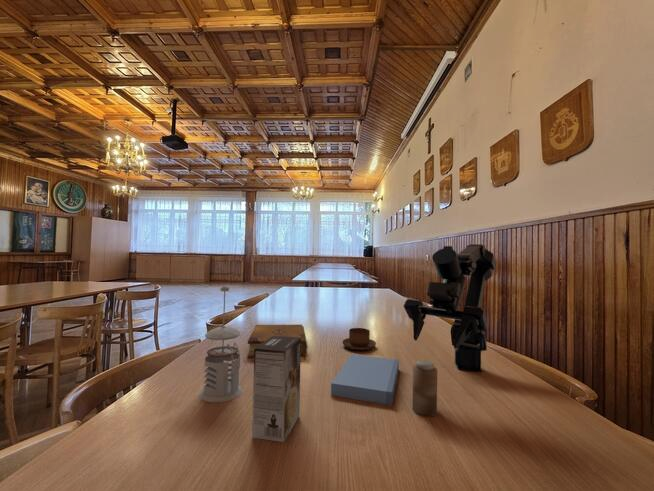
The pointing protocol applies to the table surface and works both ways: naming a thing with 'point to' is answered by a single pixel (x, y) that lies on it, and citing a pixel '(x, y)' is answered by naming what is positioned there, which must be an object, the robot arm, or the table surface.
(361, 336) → the cup and saucer
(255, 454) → the table surface
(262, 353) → the coffee box
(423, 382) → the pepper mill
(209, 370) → the french press
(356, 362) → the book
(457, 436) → the table surface
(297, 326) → the diary
